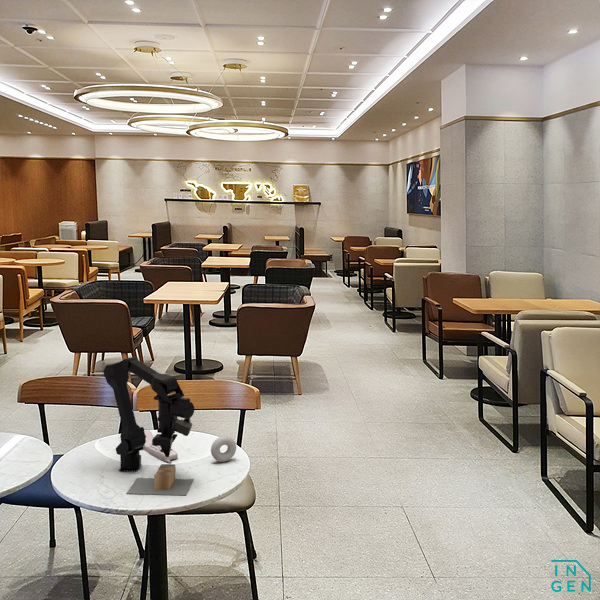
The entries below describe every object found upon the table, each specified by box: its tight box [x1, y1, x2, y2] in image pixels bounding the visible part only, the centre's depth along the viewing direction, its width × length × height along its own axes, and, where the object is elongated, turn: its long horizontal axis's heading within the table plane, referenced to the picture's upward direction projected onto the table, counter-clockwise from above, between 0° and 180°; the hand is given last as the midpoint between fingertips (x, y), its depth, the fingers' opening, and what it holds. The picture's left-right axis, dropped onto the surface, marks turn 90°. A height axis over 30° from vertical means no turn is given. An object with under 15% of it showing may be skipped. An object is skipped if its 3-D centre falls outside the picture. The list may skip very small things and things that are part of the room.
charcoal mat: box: [126, 477, 194, 497], centre depth 228 cm, size 20×13×1 cm, turn 88°
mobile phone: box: [144, 429, 179, 464], centre depth 259 cm, size 6×6×25 cm
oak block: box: [153, 463, 177, 490], centre depth 229 cm, size 5×5×10 cm
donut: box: [210, 435, 237, 463], centre depth 251 cm, size 10×4×10 cm, turn 117°
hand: (167, 456), depth 232 cm, fingers closed
